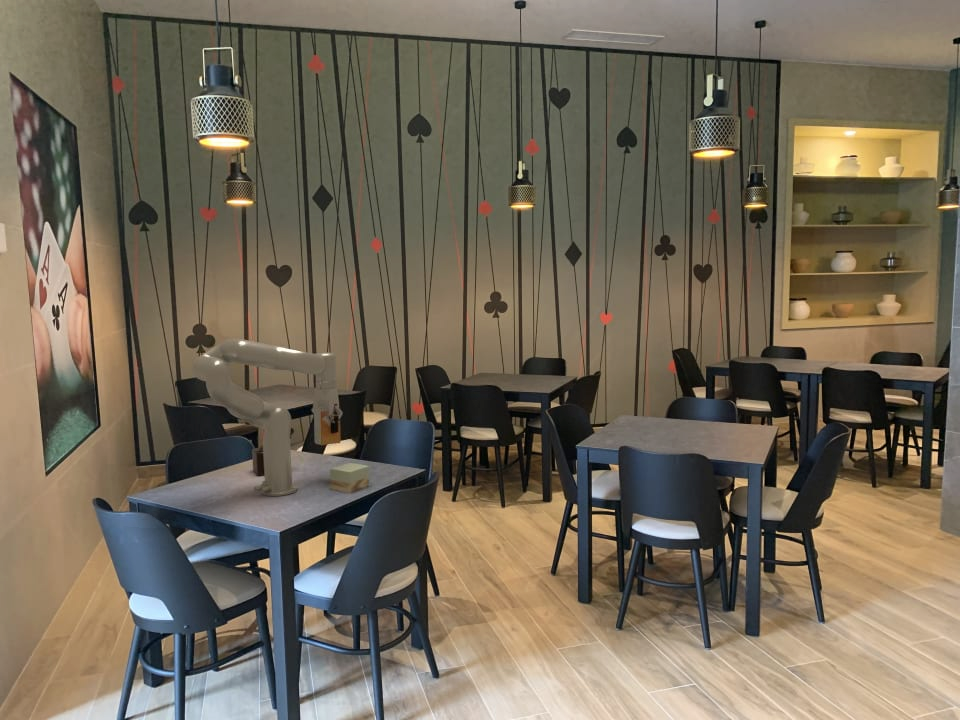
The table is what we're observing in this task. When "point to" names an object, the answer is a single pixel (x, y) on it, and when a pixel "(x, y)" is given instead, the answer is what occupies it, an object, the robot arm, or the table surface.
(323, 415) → the small box
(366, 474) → the tower top block
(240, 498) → the table surface
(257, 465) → the manual coffee grinder
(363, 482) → the tower base block
